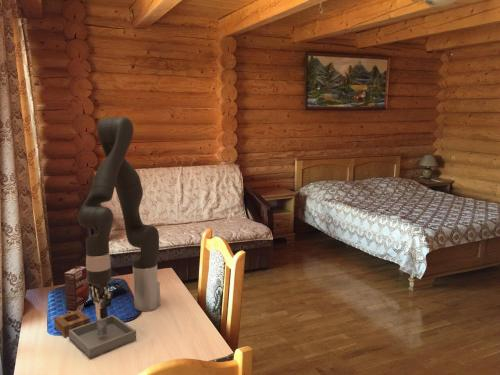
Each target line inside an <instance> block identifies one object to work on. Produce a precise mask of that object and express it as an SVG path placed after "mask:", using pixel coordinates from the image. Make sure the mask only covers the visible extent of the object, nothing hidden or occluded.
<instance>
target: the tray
mask: <svg viewBox="0 0 500 375" xmlns="http://www.w3.org/2000/svg"><path fill="white" fill-rule="evenodd" d="M106 319H107V333H106V334H105V335H97V323H96V320H95V321H94V320H93V321H90V323H88V324H85V325H82V326H80V327H77V328H74V329H71V330H69V336H68V340H69V342H70V343H72V344H73V345H74V346H75V347H76V348H77V349H78V350H79V351H80V352H81V353H82V354H84V355H85V356H86V357H87V358H88V360H92V359H95V358H97V357H100V356H102V355H104V354H106V353H107V354H108V353H111V352H112V351H115V350H117V349H119V348H122V347H124V346H126V345H129V344H131V343H134V342H136V341H137V331H136V330H135V329H134V328H132V327H131V326H129V324H127V323H125V322H124V321H123V320H121V319H119V318H118V317H117V316H116V315H114V314H111V315H108V316H107V317H106Z"/></svg>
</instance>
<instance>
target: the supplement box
mask: <svg viewBox="0 0 500 375" xmlns="http://www.w3.org/2000/svg"><path fill="white" fill-rule="evenodd" d="M63 275H64V288H65V293H64V294H65V306H66V307H65V308H66V309H65V310H66V313H69V312H73V311H76V310H80V311H82V310H83V309H84V308H85V307H84V303H85V302H86V301H87V300H88V299H89V300H90V292H89V288H88V283H89V282H88V281H87V270H86V265H85V266H82V265H77V266H75V267H73V268H72V269H70V270H68V271H66V272H64V274H63ZM83 307H84V308H83Z"/></svg>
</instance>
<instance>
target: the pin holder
mask: <svg viewBox="0 0 500 375" xmlns="http://www.w3.org/2000/svg"><path fill="white" fill-rule="evenodd" d="M88 323H91V318H90V317H89V316H88V315H87V314H85V313H84V312H83V311H82V310H76V311H73V312H70V313H69V312H66V313H65V314H64V313H63V314H61V315H58V316H55V317H53V325H54V326H53V327H54V329H55V328H56V329H57V330H58V331H59V332H60V333H61V334H62V335H63V338H69V330H71V329H74V328H77V327H80V326H82V325H85V324H88ZM56 329H55V330H56ZM57 330H56V331H57ZM58 331H57V332H58ZM59 332H58V333H59ZM60 333H59V334H60ZM61 334H60V335H61ZM62 335H61V336H62Z"/></svg>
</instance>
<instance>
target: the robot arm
mask: <svg viewBox="0 0 500 375" xmlns="http://www.w3.org/2000/svg"><path fill="white" fill-rule="evenodd" d="M134 129H135V128H134V124H133V122H132V120H131V119H130V118H127V117H126V116H125V117H124V116H118V117H104V118H101V119H100V120H99V121H98V122H97V126H96V132H97V137H98V140H99V143H100V145H101V148H102V150H103V152H104V153H103V154H104V155H105V159H104V160H103V161H102V163H101V164H100V165H99V167H98V169H96V171H95V174H94V176H93V180H92V184H91V188H90V191H89V194H88V195H87V197H86V198H85V200H84V202H83V204H82V205H81V207H80V209H79V211H78V215H77V220H78V221H77V222H78V223H79V226H80V227H82V228H85V229H98V232H97V233H95V234H91V235H89V236H87V237H86V238H85V250H86V251H85V252H86V254H85V255H86V257H85V267H86V270H87V281H88V292H89V297H90V300H91V301H92V302H93V304H94V305H95V301H94V300H93V296H95V295H96V296H97V301H99V306H100V318H102V319H103V318H106V317H108V316H109V314H108V308H110V307H111V306H112V300H113V295H114V294H113V292H112V291H109V286H108V282H110V281H111V280H112V265H111V264H112V262H111V256H110V244H109V241H110V236H111V232H112V226H113V223H114V214H113V211H112V210H111V209H110V208H109V207H108V206H100V205H101V204H103V203H106V202H110V201H111V200H112V199H113V195H114V192H116V195H117V198H118V201H119V205H120V209H121V212H122V213H121V214H122V216H123V217H122V218H123V222H124V230H125V235H126V239H127V242H128V243H129V245H130V246H132V247H133V248H134V247H135V248H138V249H140V253H139V254H138V255H136V256H135V257H133V259H132V281H133V305H134V307H135V308H136V309H137V310H136V309H135V308H134V309H135V310H136V311H138V310H139V312H151V311H153V310H154V311H155V309H157V308H158V307H159V306H161V283H160V281H159V280H158V279H159V278H158V259H159V255H160V234H159V230H158V229H157V227H155V226H153V225H150V224H149V225H148V224H144V223H143V221H142V219H141V215H140V206H141V203H142V199H143V195H144V190H143V187H142V186H143V185H142V182H141V178H140V176H139V173H138V172H137V171H136V169H135V168H134V167H133V166H132V164H130V162H129V161H128V160H127V159H126V158H125V157H126V155H127V152H128V151H129V148H130V146H131V143H132V140H133V137H134ZM101 297H104V298H103V299H100V298H101ZM102 301H103V303H102ZM94 314H95V315H96V307H95V306H94Z"/></svg>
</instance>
